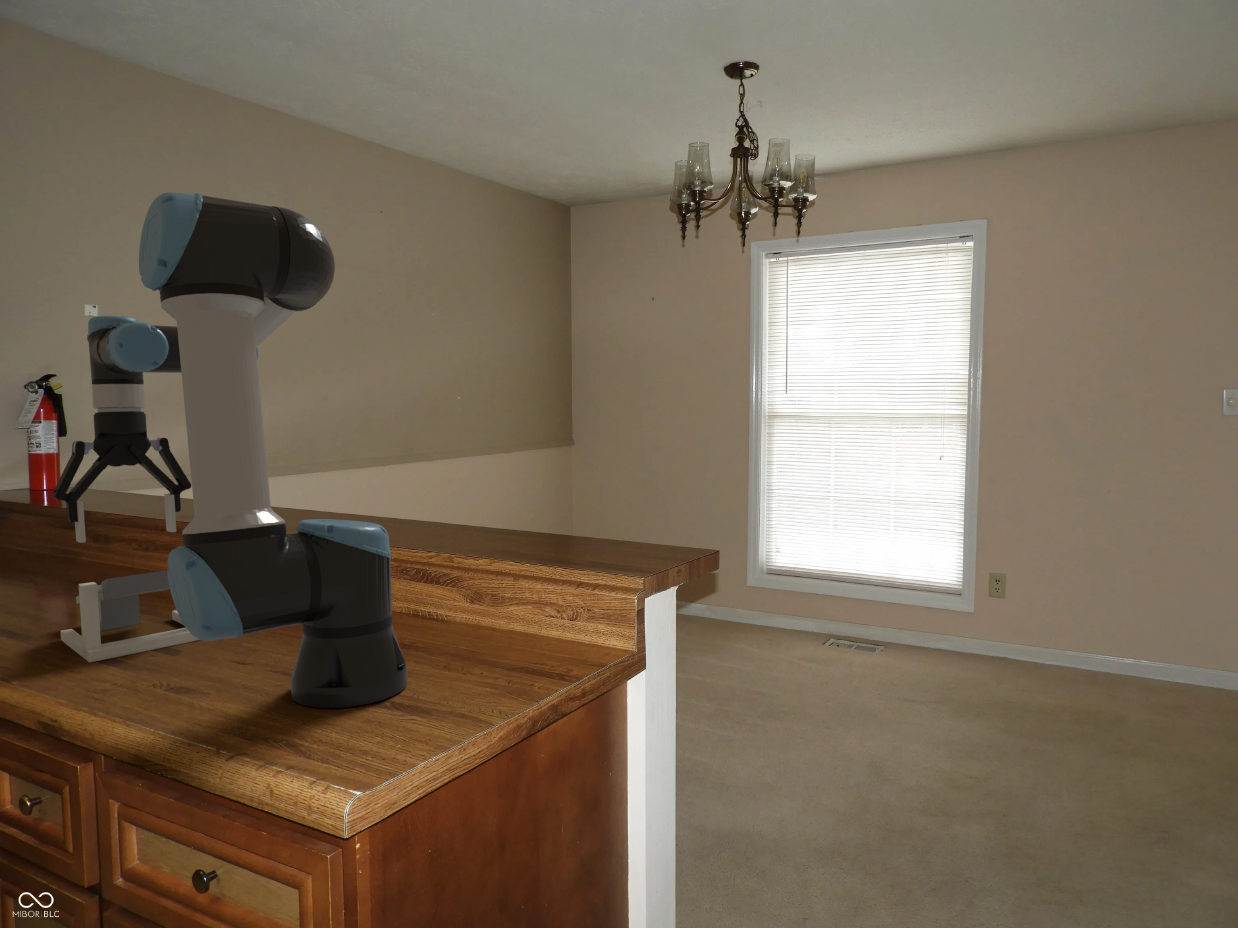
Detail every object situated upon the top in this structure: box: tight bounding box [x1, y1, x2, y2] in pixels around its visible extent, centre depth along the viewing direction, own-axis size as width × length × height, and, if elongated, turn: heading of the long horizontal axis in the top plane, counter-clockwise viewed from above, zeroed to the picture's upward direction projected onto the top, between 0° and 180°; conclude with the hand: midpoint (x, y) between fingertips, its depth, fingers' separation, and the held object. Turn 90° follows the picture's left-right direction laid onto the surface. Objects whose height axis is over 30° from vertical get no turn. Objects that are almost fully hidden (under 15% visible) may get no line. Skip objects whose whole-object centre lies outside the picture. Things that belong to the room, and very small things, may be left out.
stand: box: [60, 581, 201, 663], centre depth 138 cm, size 18×19×12 cm
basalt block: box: [98, 594, 141, 632], centre depth 147 cm, size 6×6×7 cm
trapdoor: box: [75, 569, 170, 605], centre depth 137 cm, size 18×14×3 cm
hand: (127, 536), depth 140 cm, fingers open, 13 cm apart
